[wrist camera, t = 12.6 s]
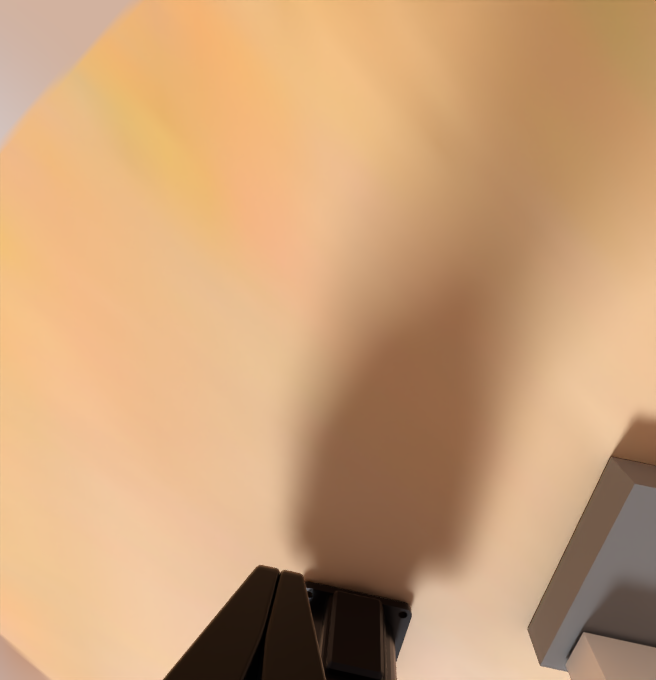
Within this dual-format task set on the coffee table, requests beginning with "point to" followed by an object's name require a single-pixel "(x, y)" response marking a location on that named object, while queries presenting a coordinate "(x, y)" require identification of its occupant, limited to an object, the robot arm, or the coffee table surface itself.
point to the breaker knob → (611, 660)
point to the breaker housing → (604, 569)
